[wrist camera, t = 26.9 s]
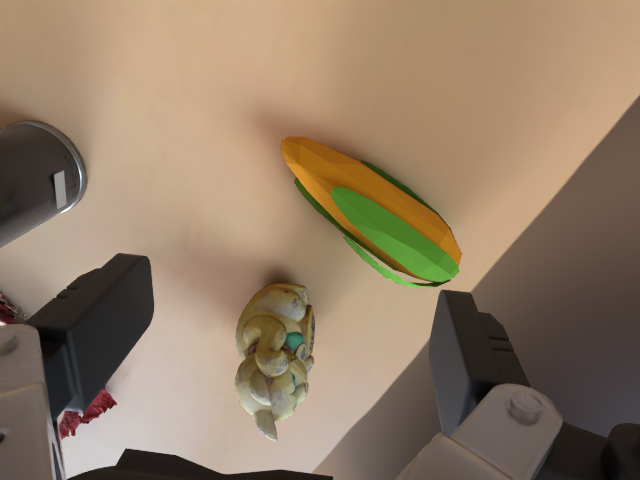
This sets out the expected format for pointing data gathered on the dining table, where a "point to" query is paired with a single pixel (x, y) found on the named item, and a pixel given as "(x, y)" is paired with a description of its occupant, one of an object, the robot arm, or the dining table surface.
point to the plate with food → (67, 418)
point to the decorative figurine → (274, 353)
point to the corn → (375, 213)
